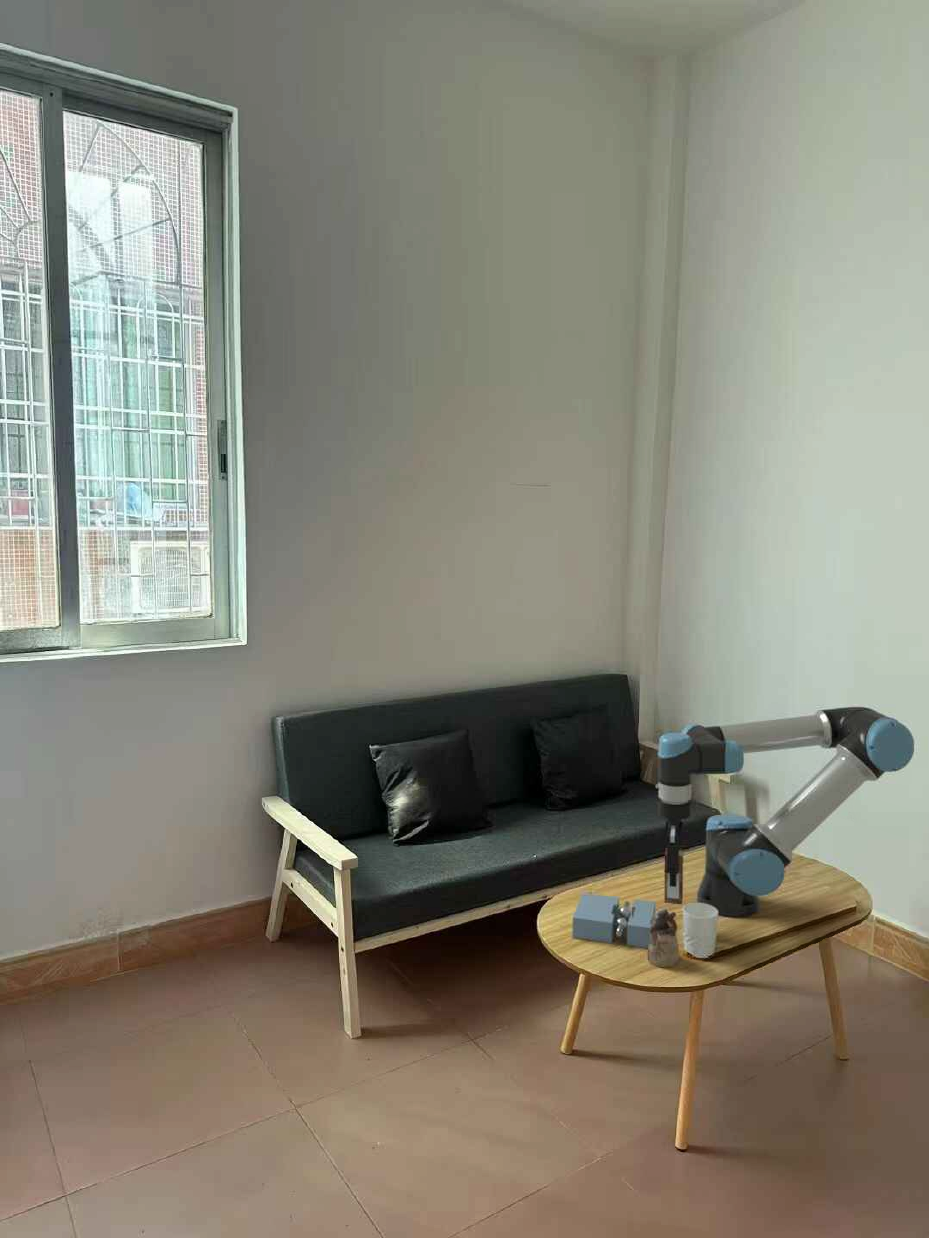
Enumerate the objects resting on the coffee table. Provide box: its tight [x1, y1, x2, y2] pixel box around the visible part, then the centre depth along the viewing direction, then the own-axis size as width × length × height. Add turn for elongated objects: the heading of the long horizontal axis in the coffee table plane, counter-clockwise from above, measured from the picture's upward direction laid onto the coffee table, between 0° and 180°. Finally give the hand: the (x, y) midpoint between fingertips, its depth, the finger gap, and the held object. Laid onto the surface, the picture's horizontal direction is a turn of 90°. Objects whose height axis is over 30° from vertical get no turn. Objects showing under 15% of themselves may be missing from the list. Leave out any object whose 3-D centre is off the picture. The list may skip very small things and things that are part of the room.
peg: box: [663, 847, 684, 905], centre depth 212 cm, size 4×4×12 cm
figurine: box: [646, 908, 680, 968], centre depth 200 cm, size 7×7×12 cm
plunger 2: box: [614, 917, 628, 938], centre depth 210 cm, size 3×6×3 cm, turn 163°
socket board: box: [572, 892, 656, 949], centre depth 215 cm, size 18×14×5 cm
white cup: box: [682, 902, 719, 959], centre depth 204 cm, size 8×8×10 cm
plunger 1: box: [618, 901, 632, 920], centre depth 219 cm, size 3×6×3 cm, turn 163°
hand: (673, 893), depth 213 cm, fingers closed on peg, 4 cm apart
